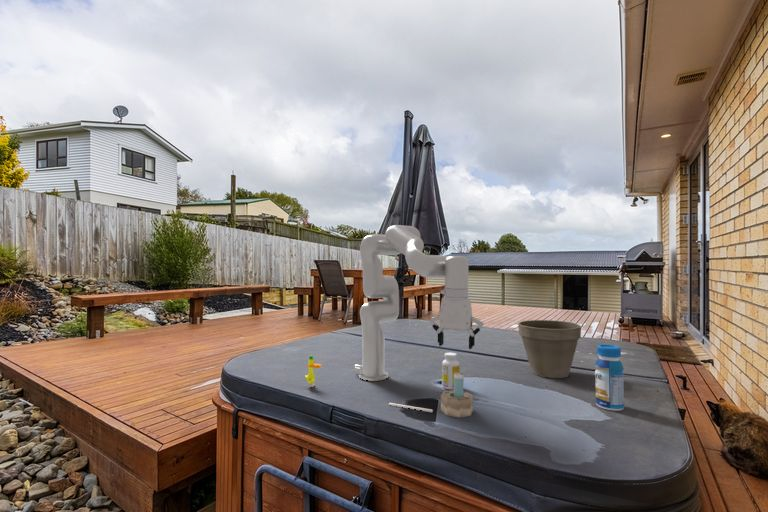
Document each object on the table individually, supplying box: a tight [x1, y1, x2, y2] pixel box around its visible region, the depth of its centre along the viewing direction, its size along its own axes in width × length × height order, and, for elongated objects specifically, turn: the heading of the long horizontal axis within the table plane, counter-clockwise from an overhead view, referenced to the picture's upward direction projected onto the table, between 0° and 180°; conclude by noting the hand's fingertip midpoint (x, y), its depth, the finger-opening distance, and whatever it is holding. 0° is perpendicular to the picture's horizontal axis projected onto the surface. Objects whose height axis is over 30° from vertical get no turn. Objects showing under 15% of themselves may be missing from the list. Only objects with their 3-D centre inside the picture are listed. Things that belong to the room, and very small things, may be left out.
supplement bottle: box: [441, 352, 461, 391], centre depth 142 cm, size 7×7×13 cm
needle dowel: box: [454, 372, 465, 398], centre depth 119 cm, size 3×3×12 cm
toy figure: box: [304, 354, 323, 386], centre depth 142 cm, size 7×4×12 cm, turn 81°
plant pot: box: [517, 319, 582, 379], centre depth 161 cm, size 25×25×22 cm
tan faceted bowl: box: [440, 390, 474, 418], centre depth 119 cm, size 10×10×5 cm
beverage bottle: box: [594, 344, 625, 412], centre depth 123 cm, size 8×8×20 cm
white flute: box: [388, 402, 434, 413], centre depth 121 cm, size 15×1×1 cm, turn 67°
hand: (455, 346), depth 120 cm, fingers open, 9 cm apart
